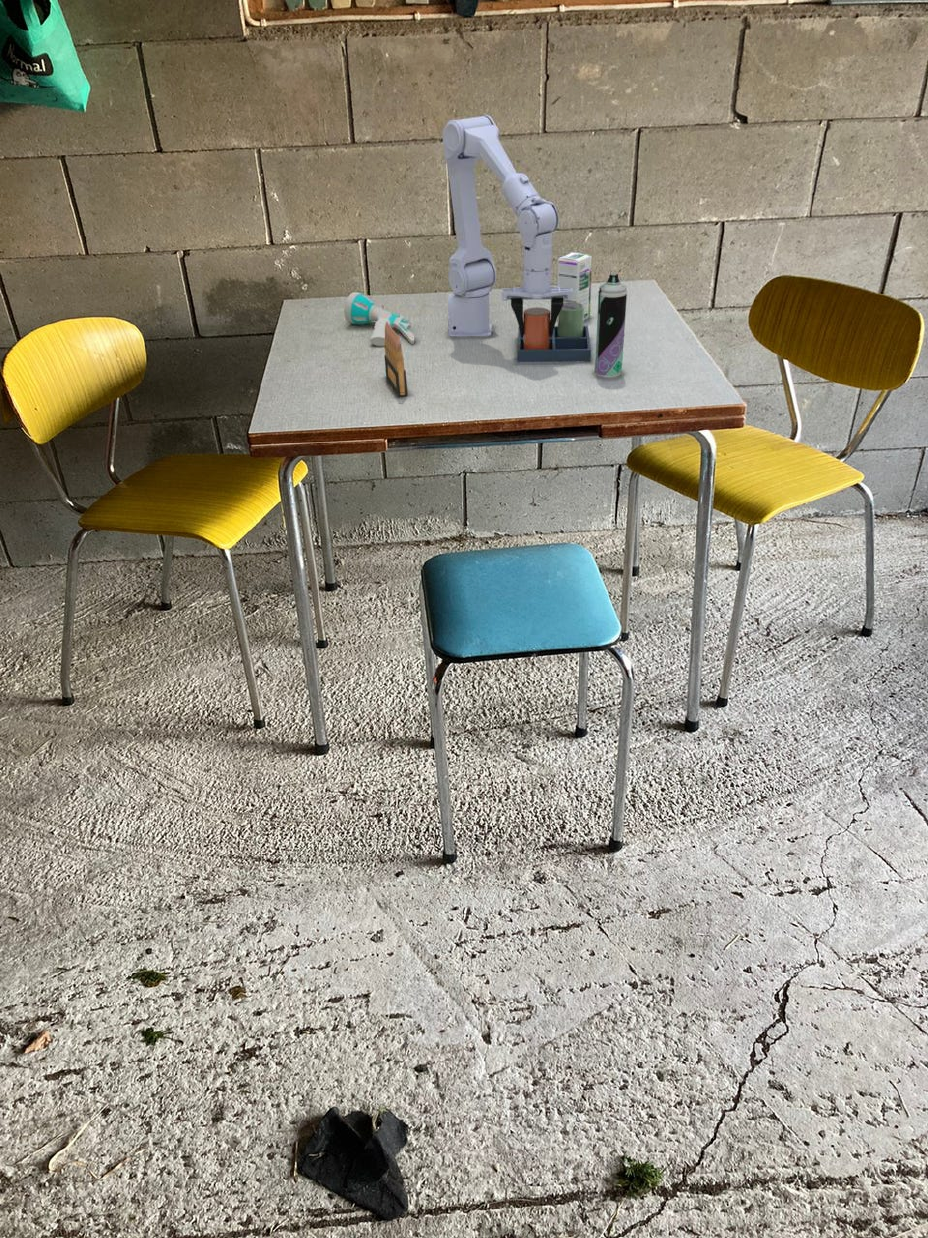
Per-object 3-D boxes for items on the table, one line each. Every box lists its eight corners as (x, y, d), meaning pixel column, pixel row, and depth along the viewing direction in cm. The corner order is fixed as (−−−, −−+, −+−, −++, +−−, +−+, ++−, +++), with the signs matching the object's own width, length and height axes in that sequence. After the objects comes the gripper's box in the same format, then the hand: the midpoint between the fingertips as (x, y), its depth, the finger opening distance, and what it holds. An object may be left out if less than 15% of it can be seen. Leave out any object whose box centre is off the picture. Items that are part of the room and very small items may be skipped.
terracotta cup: (523, 353, 199) (523, 315, 194) (523, 344, 204) (523, 307, 199) (549, 353, 199) (550, 315, 194) (549, 344, 203) (550, 306, 199)
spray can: (604, 381, 190) (610, 279, 178) (589, 372, 194) (593, 273, 182) (626, 375, 192) (633, 275, 180) (611, 367, 196) (617, 268, 184)
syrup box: (577, 324, 218) (580, 260, 210) (556, 320, 221) (557, 256, 213) (590, 318, 222) (593, 254, 214) (569, 314, 225) (571, 250, 217)
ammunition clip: (407, 395, 187) (403, 336, 180) (398, 397, 187) (394, 337, 180) (394, 377, 195) (390, 319, 188) (386, 378, 195) (381, 320, 188)
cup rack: (517, 364, 199) (517, 350, 198) (518, 339, 212) (518, 326, 210) (590, 363, 198) (591, 349, 196) (587, 338, 211) (587, 325, 209)
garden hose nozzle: (414, 328, 208) (420, 291, 223) (335, 323, 208) (346, 286, 223) (413, 358, 213) (419, 320, 228) (336, 353, 213) (347, 315, 227)
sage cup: (557, 347, 205) (558, 310, 201) (556, 338, 210) (557, 301, 205) (583, 346, 205) (584, 309, 200) (582, 338, 209) (583, 301, 205)
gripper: (501, 273, 189) (501, 340, 197) (573, 272, 188) (571, 339, 196) (502, 263, 194) (502, 329, 202) (572, 262, 193) (570, 328, 201)
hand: (536, 333), depth 199 cm, fingers closed on terracotta cup, 5 cm apart
